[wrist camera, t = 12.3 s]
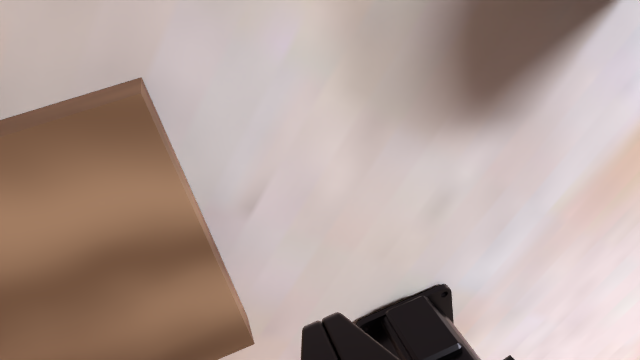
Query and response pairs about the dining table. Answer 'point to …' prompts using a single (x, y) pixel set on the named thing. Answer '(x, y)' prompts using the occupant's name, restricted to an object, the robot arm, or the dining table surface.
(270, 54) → the dining table surface
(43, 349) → the serving board
